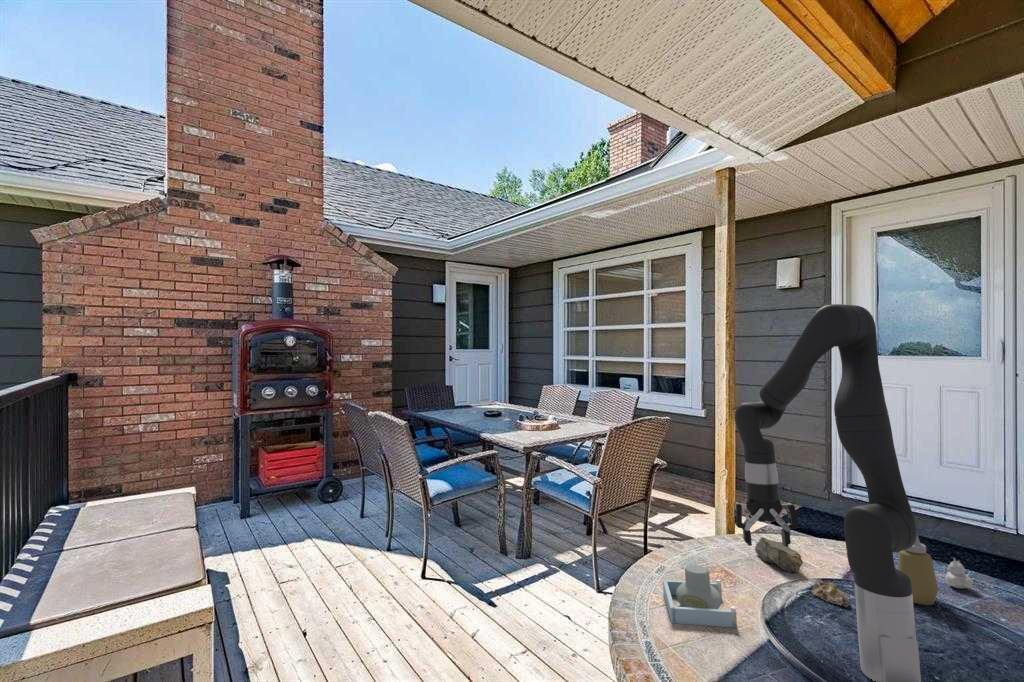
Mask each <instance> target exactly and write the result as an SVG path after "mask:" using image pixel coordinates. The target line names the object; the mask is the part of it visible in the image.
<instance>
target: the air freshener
mask: <svg viewBox="0 0 1024 682" xmlns="http://www.w3.org/2000/svg"><path fill="white" fill-rule="evenodd" d="M684 577H685V579H684V581H686V582H684V583H682V584H681V585H680V586H679V587H678V588H677V591H676V595H675V596H676V599H677V602H678V603H679V604H680V606H681V607H691V608H706V609H720V607H721V605H722V598H721V596H720V594H719V592H718V591H717V590H716V589H715V588H714V587H713V586H711V585H710V582H711V579H710V570H709V569H708V568H707V567H705V566H703V565H699V564H689V565H687V566H685V568H684Z"/></svg>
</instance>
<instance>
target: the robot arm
mask: <svg viewBox="0 0 1024 682" xmlns="http://www.w3.org/2000/svg"><path fill="white" fill-rule="evenodd" d="M876 329H877V327H876V322H875V320H874V316H873V315H872V313H871V312H870V311H869V310H868V309H867V308H865V307H863V306H859V305H855V304H838V303H837V304H835V303H834V304H833V303H832V304H831V303H830V304H827V305H824V306H822V307H820V308H818V309H817V310H816V311H815V312H814V314H813V315H812V317H811V318H810V319H809V321H808V322H807V323H806V326H805V327H804V329H803V330H802V332H801V334H800V336H799V337H798V339H797V340H796V342H795V344H794V346H793V347H792V349H791V350H790V351H789V354H788V355H787V357H786V358H785V360H783V362H782V363H781V364H780V365H779V367H778V368H777V370H776V371H775V372H774V373H773V374H772V375H771V376H770V377H769V379H768V380H767V381H766V382H764V384H763V385H762V387H760V388H761V389H760V390H759V397H760V401H751V402H742V403H740V404H739V405H738V406H737V408H736V409H735V413H734V422H735V426H736V429H737V432H738V434H739V437H740V439H741V442H742V445H743V450H744V480H745V490H746V491H745V493H746V498H747V499H746V502H745V503H743V502H742V503H741V502H739V501H735V502H734V503H733V508H734V509H733V511H734V512H733V513H734V514H733V516H734V519H733V520H734V522H733V523H734V525H735V526H736V527H737V528H739V529H742V533H743V534H742V536H743V538H742V539H743V542H744V543H746V545H747V546H749V547H750V546H751V547H752V546H753V545H752V544H753V543H752V542H753V541H752V531H751V530H750V529H752V527H753V526H754V525H755V524H756V523H757V521H759V522H763V523H764V522H771V523H772V522H774V521H776V523H778V525H779V526H780V527H781V529H780V532H781V534H780V535H781V543H782V544H783V545H784V546H785V547H789V545H791V541H792V540H791V531H792V530H797V529H798V528H799V526H798V519H797V513H796V512H797V511H796V505H794V504H792V503H791V502H789V501H788V502H786V503H781V496H780V488H779V487H780V484H779V473H778V468H777V465H776V464H777V463H776V454H775V453H776V452H775V445H774V443H773V441H772V440H771V439H768V438H764V436H763V434H762V432H761V430H765V429H771V428H772V427H773V426H775V425H776V424H778V422H779V421H780V420H781V418H782V417H783V415H784V413H785V411H786V409H787V406H788V405H790V403H791V402H792V401H793V400H794V399H796V397H797V396H798V395H799V394H800V393H802V392H801V391H802V390H803V389H804V388H805V387H806V385H807V384H808V381H809V379H810V375H811V373H812V369H813V367H814V366H815V364H817V362H818V361H819V359H821V358H822V357H823V355H825V354H826V353H828V352H829V351H830V350H832V349H834V348H836V347H837V348H838V350H839V354H840V355H839V356H840V362H841V371H842V372H841V379H840V383H839V386H838V389H837V392H836V395H835V400H834V405H833V407H834V408H833V412H834V420H835V423H836V429H837V430H836V431H837V435H838V438H839V441H840V443H841V445H842V447H843V448H844V450H845V452H846V453H847V455H849V458H850V459H851V461H853V462H854V464H855V465H856V467H857V468H858V470H859V471H860V473H861V475H862V477H863V479H864V483H865V487H866V491H867V497H868V504H864V505H857V506H854V507H851V508H849V509H848V510H847V511H846V513H845V516H844V519H843V531H844V532H843V533H844V541H845V549H846V557H847V561H848V565H849V569H850V570H851V572H852V575H853V585H854V597H855V609H856V610H855V612H856V613H855V614H856V624H857V626H856V627H857V637H858V638H857V639H858V648H859V649H858V651H859V652H858V653H859V662H860V669H861V672H862V673H863V674H864V676H865V677H867V678H868V679H869V680H871V679H872V680H871V681H873V682H874V681H876V682H922V678H921V677H922V676H921V667H920V666H921V664H920V655H919V653H920V652H919V642H918V640H917V634H916V633H917V632H916V622H915V612H914V603H913V594H912V583H911V580H910V578H909V576H908V575H906V574H905V573H904V572H902V571H900V570H898V569H897V568H896V566H895V565H896V564H895V561H894V560H895V559H894V553H899V551H903V550H906V549H909V548H911V547H912V546H913V545H914V543H915V541H916V538H917V535H918V530H917V524H916V520H915V518H914V514H913V511H912V507H911V505H910V501H909V499H908V495H907V493H906V490H905V489H906V488H905V486H904V483H903V479H902V475H901V471H900V466H899V461H898V457H897V456H898V455H897V453H896V448H895V443H894V437H893V430H892V425H891V420H890V415H889V411H888V406H887V403H886V398H885V393H884V387H883V381H882V375H881V372H880V365H879V358H878V357H879V356H878V354H879V353H878V339H877V338H878V337H877V330H876ZM745 509H747V510H748V512H749V513H748V514H747V515H746V517H745V519H744V521H743V513H744V512H745ZM783 510H784V512H786V514H787V518H788V519H787V520H788V522H785V520H784V519H783V518H782V517H781V516H780V514H781V512H782V511H783Z"/></svg>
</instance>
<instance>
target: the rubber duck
mask: <svg viewBox="0 0 1024 682" xmlns="http://www.w3.org/2000/svg"><path fill="white" fill-rule="evenodd" d="M947 568H948V571H947V572H946V573H945V581H946V583H947V584H948V585H949V586H950V587H952V588H956V589H957V590H958V589H960V590H961V589H962V590H963V589H972V588H973V582H974V579H972V578H971V577H970V576H968V575H967V574H965V572H966V570H965V567H964V565H963V564H962V563H961V562H960V561H959V560H956V558H955V557H953V561H951V562H950V563H949V565H948V566H947Z"/></svg>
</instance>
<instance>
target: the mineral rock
mask: <svg viewBox="0 0 1024 682" xmlns="http://www.w3.org/2000/svg"><path fill="white" fill-rule="evenodd" d="M811 593H812V595H816V596H817V597H816V596H815V597H816V598H818V597H821V598H823V599H825V600H828V601H830V602H833V603H836V604H839V605H846V606H847V605H848V604H851V601H850V600H849V598H848V596H847V595H846V592H843V591H842V590H840V588H839V587H837V586H836V584H835V583H833V582H828V583H827V582H825V581H823V580H819V581H817V582H816V583H815V584H814V586H813V587H812V590H811Z"/></svg>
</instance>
